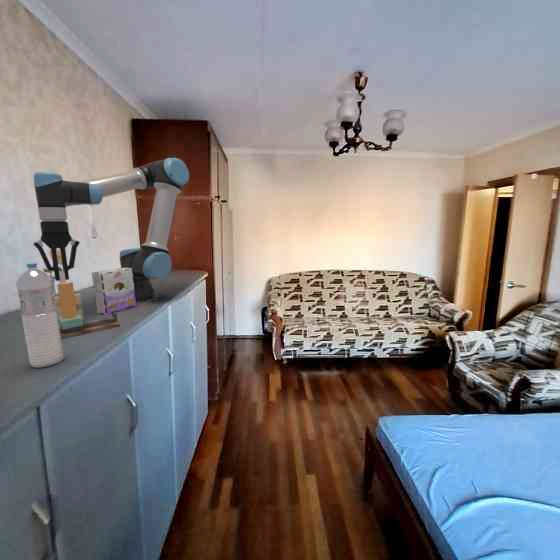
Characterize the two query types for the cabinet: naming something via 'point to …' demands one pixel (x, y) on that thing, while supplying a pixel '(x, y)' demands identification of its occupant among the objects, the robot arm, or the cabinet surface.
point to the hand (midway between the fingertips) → (63, 289)
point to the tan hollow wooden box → (78, 305)
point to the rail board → (88, 330)
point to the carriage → (68, 306)
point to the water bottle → (39, 317)
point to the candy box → (114, 290)
